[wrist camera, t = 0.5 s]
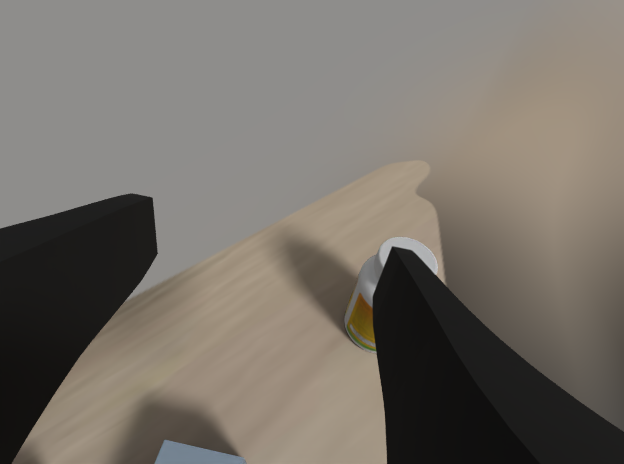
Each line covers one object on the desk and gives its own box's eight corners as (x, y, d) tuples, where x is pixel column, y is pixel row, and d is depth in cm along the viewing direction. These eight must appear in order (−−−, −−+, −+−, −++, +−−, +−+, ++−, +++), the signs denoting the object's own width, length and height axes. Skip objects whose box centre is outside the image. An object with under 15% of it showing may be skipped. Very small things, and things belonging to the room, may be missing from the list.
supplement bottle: (410, 355, 26) (462, 294, 19) (347, 355, 26) (376, 294, 19) (396, 298, 30) (435, 229, 23) (340, 297, 30) (362, 227, 22)
